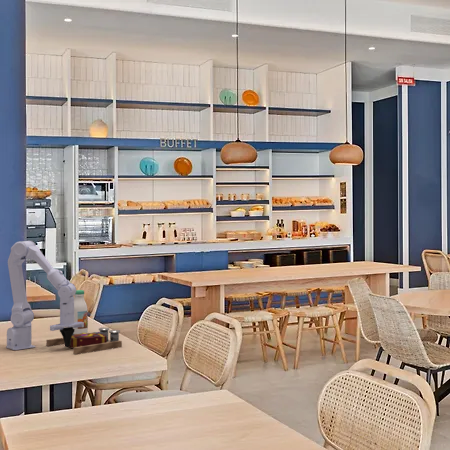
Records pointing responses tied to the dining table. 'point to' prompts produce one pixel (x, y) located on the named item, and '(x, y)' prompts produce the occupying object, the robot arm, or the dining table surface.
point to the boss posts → (113, 334)
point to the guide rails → (86, 348)
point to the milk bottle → (80, 312)
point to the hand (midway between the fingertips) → (67, 346)
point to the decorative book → (87, 339)
